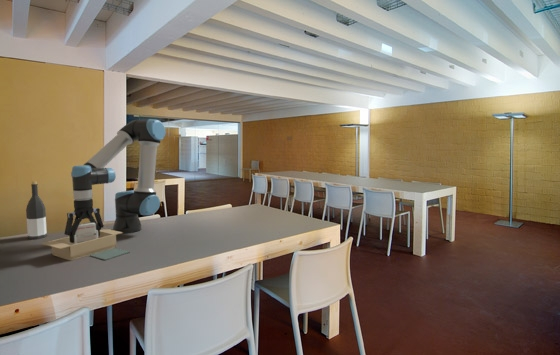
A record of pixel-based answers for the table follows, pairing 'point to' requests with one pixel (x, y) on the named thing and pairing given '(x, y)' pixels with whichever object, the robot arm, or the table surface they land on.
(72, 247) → the tan shallow open box
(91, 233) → the ink box
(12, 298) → the table surface
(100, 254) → the mat
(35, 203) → the wine bottle
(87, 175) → the robot arm
